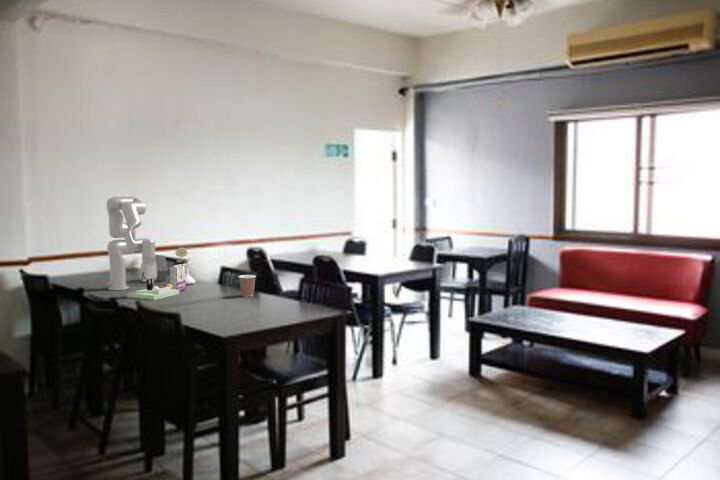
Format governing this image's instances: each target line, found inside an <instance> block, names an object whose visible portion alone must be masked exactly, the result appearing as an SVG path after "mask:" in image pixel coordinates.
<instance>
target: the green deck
mask: <svg viewBox="0 0 720 480" xmlns="http://www.w3.org/2000/svg"><path fill="white" fill-rule="evenodd" d="M158 288H159V289H157V293H154V292H153V291H152V290H147V288H145V289H140V290H134V291H130V292H127V293H126V298H131V299H141V300H142V299H143V300H154V301H155V300H159V299H162V298H168V297H172V296H175V295H180V292H179V290H176V289H172V290H170V287H166V286H165V287H158Z"/></svg>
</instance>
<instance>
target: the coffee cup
mask: <svg viewBox="0 0 720 480" xmlns="http://www.w3.org/2000/svg"><path fill="white" fill-rule="evenodd" d="M256 277H257V276H256V275H255V274H243V275H242V274H241V275H239V276H238V279H239V287H240V294H241V297H244V296H245V298H246V297H248V296H250V297H253V296H254V292H255V284H256ZM248 298H249V297H248Z"/></svg>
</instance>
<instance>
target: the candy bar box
mask: <svg viewBox="0 0 720 480" xmlns="http://www.w3.org/2000/svg"><path fill="white" fill-rule="evenodd" d="M169 281H170V283H169V284H171V285H172V287H173V288H172V289H176V290H179V293H181V292H183V291H186V289H187V288H186V286H187V284H185V265H183V264H175V265H172V266H169Z"/></svg>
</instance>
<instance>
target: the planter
mask: <svg viewBox="0 0 720 480" xmlns="http://www.w3.org/2000/svg"><path fill="white" fill-rule="evenodd" d="M155 258H156V259H155V262H156V265H157V277H156V278H157V279H156V280H154V282H153V283H156V282H157V283H159V281H160V282H165V281H166V279H167V274H168V272H169V268H168V263H167V259H166V256H164V255H156V254H155Z"/></svg>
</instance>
